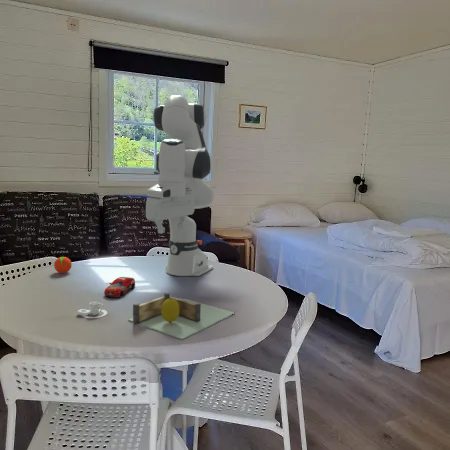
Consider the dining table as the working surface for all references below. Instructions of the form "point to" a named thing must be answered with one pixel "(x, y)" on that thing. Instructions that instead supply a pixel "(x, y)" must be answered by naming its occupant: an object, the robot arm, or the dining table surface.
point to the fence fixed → (148, 309)
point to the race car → (120, 287)
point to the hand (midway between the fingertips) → (171, 230)
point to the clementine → (62, 264)
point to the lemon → (170, 310)
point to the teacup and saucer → (92, 310)
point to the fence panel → (188, 309)
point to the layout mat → (185, 322)
